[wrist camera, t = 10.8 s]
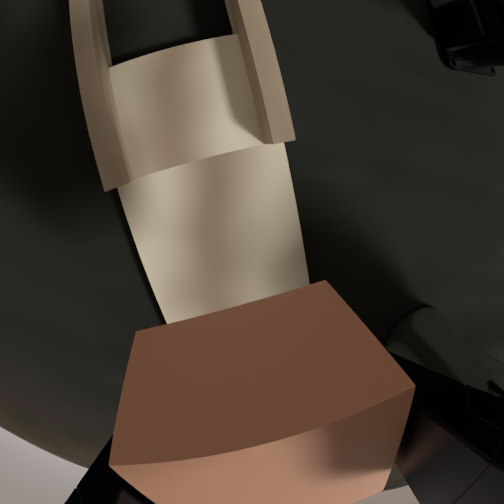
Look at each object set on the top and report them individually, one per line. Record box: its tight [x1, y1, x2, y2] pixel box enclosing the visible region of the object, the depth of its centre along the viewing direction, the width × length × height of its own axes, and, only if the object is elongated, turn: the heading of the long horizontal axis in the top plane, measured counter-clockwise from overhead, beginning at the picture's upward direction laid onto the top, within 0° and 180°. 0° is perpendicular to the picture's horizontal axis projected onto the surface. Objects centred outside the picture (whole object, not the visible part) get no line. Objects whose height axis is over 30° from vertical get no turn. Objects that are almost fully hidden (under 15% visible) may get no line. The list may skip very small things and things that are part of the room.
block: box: [109, 280, 416, 504], centre depth 6 cm, size 5×5×4 cm
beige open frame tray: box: [69, 0, 310, 324], centre depth 12 cm, size 8×28×3 cm, turn 13°
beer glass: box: [384, 307, 504, 398], centre depth 15 cm, size 7×7×15 cm
